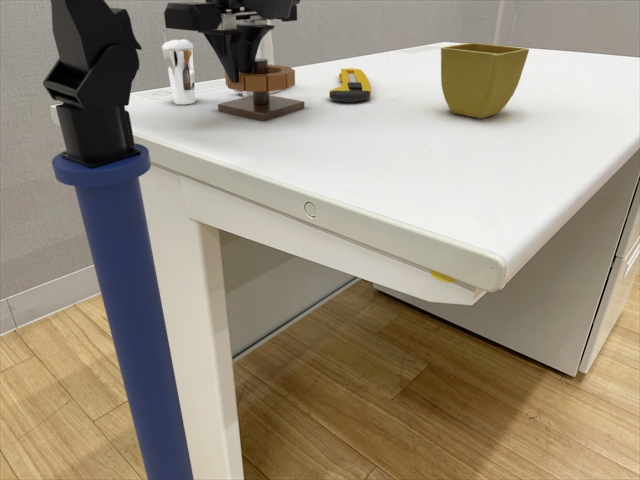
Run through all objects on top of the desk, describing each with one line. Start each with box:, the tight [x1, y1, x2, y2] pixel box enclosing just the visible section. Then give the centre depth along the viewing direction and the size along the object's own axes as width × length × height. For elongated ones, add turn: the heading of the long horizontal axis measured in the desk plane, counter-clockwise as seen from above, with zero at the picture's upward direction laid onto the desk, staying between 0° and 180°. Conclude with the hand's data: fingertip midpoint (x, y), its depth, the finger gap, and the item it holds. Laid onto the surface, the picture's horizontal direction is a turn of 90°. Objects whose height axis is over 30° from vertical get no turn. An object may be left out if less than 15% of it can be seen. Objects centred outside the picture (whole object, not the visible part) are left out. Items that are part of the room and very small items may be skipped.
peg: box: [217, 59, 305, 122], centre depth 72 cm, size 9×9×7 cm
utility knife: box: [329, 67, 372, 103], centre depth 86 cm, size 7×22×2 cm, turn 0°
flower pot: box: [440, 42, 530, 119], centre depth 70 cm, size 9×9×9 cm
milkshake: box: [160, 31, 196, 106], centre depth 75 cm, size 4×5×10 cm
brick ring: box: [224, 64, 296, 92], centre depth 71 cm, size 10×10×2 cm
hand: (240, 81), depth 69 cm, fingers closed on brick ring, 2 cm apart
